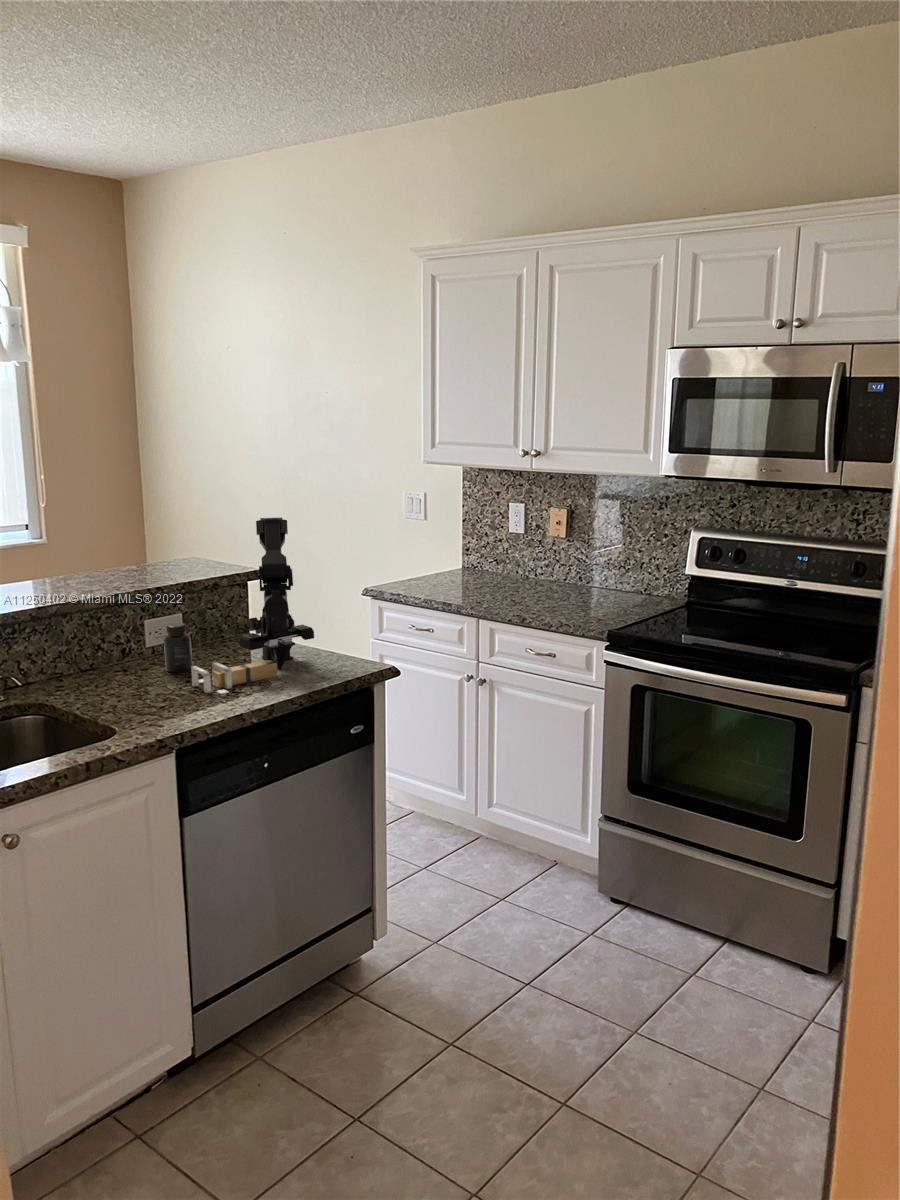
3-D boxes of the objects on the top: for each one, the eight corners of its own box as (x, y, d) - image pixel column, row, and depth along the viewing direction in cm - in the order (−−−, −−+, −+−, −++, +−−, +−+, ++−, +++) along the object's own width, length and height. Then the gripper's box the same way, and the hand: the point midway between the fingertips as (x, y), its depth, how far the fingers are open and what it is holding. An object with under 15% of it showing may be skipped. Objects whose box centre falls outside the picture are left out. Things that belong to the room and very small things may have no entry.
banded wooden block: (270, 673, 247) (270, 659, 247) (277, 676, 244) (276, 662, 244) (212, 684, 238) (211, 670, 237) (218, 687, 235) (218, 673, 234)
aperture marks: (203, 679, 241) (203, 678, 241) (228, 692, 231) (228, 691, 231) (195, 681, 240) (195, 680, 240) (221, 694, 229) (221, 693, 229)
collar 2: (217, 680, 241) (216, 661, 240) (232, 688, 234) (231, 668, 233) (213, 681, 240) (211, 662, 239) (227, 689, 234) (226, 669, 233)
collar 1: (196, 684, 237) (195, 665, 236) (211, 692, 231) (209, 672, 230) (192, 685, 236) (191, 666, 235) (206, 693, 230) (205, 673, 229)
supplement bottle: (196, 666, 254) (194, 622, 251) (187, 673, 247) (184, 628, 245) (171, 665, 254) (168, 621, 252) (161, 672, 248) (158, 627, 245)
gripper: (291, 600, 255) (294, 657, 258) (227, 610, 244) (231, 669, 247) (314, 606, 247) (316, 665, 250) (248, 617, 235) (252, 679, 238)
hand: (278, 669), depth 247 cm, fingers closed
